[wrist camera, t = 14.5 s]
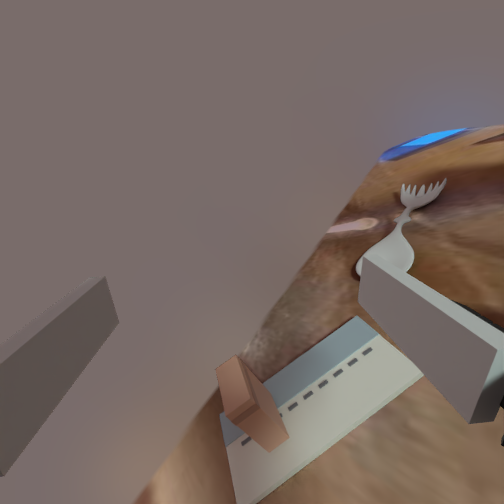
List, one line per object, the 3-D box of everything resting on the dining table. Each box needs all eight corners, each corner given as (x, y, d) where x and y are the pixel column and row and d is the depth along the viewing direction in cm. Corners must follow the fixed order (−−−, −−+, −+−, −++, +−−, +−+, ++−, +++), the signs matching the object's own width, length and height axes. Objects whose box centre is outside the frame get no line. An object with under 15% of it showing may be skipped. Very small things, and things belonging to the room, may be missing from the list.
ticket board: (358, 319, 37) (356, 315, 37) (424, 375, 28) (422, 370, 27) (223, 417, 36) (219, 414, 35) (242, 514, 26) (237, 511, 25)
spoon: (449, 189, 52) (448, 175, 50) (403, 293, 38) (399, 278, 36) (404, 194, 59) (401, 182, 57) (350, 284, 44) (344, 271, 43)
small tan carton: (271, 393, 33) (236, 354, 29) (290, 437, 28) (251, 398, 23) (253, 405, 33) (215, 368, 29) (268, 453, 28) (225, 417, 23)
